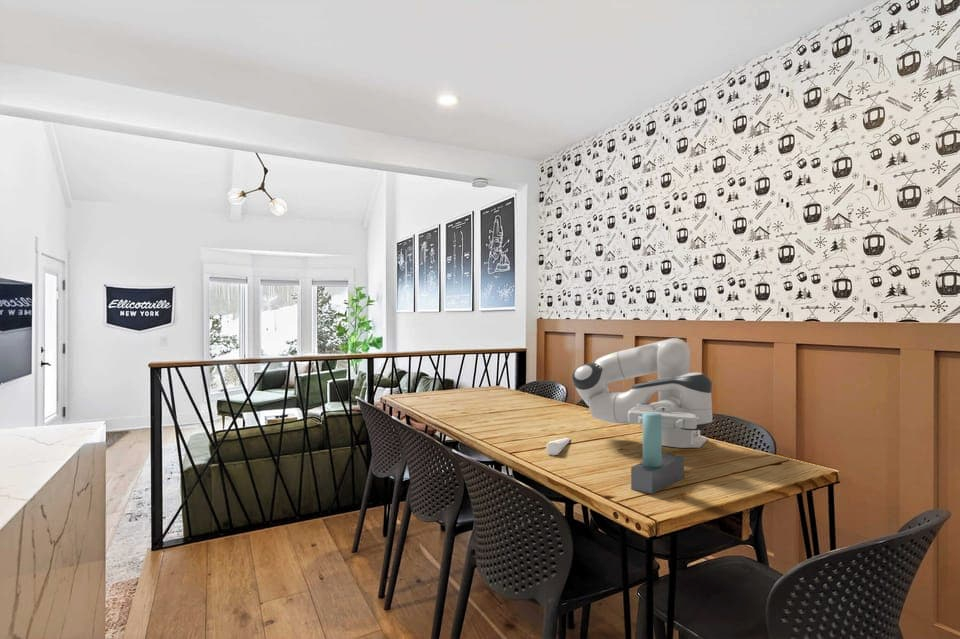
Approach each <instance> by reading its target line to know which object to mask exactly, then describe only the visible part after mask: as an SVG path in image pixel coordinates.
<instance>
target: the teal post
mask: <svg viewBox="0 0 960 639" xmlns="http://www.w3.org/2000/svg"><path fill="white" fill-rule="evenodd" d="M642 422H643V425H642V462H643V465H644V466H647V467H653V468H658V467H661V466H662V454H663V450H662V447H663V445H662V415H661V414H658V413H643V414H642Z"/></svg>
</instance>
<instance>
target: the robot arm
mask: <svg viewBox="0 0 960 639" xmlns="http://www.w3.org/2000/svg"><path fill="white" fill-rule="evenodd" d="M690 360H691V348H690V346H689V345H688V344H687V342H686V341H684V340H683V339H680V338H676V337H673V338H667V339H665V340H660V341H655V342H651V343H648V344H647V343H646V344H644V345H639V346H635V347H631V348H628V349H623V350H619V351H615V352H612V353H609V354H608V353H607V354H606V355H602V356H600V357H599V358H597V359H596V360H595V361H594V362H590V363H584V364H581V365H579V366H577V367H576V369H574V370H573V372H572V375H571V378H572V379H571V380H572V383H573V385H574V387H575V389H576V391H577V393H578V395H579V397H580V398H581V399H582V400H583V401H584V403H585V405H586V406H587V407H588V408H589V412H590V415H591V416H592V417H593V418H594V419H596V420H599V421H602V422H605V423H606V422H607V423H612V424H622V425H623V424H625V425H626V424H628V425H629V424H637V425H642V426H643V422H642V414H643V413H658V414H661V415H662V447H663V446H664V447H669V448H670V447H671V448H679V449H680V448H681V449H682V448H684V449H685V448H686V449H687V448H694V449H695V448H696V449H699V448H701V447H702V446H703V445H704V444H705V443H706V441H707V440H708V438H707V437H706V436H704V435H701V431H702V430H705V429H706V428H708V427H709V426H710V425H711V424H712V423H713V409H712V408H713V402H712V401H713V400H712V391H713V390H712V389H713V381H712V380H711V379H710V378H709V377H708V376H707V375H706V374H705V373H703V372H697V371H696V372H690V370H691V368H690V367H691V366H690V365H691V363H690V362H691V361H690ZM653 373H657V379H653V380H649V381H643V382H642V381H641V382H638V383H635V384H633V385H632V386H631V387H630V389H629V390H627V391H623V392H611V391H610V389H609V386H608V385H610V384H611V383H612V382H615V381H617V382H618V381H623V380H628V379H633V378H637V377H642V376H646V375H651V374H653ZM656 392H657V398H658V399H657V400H658V401H655V402H650V403H649V400H650V398H651V397H652V395H653V394H654V393H656Z"/></svg>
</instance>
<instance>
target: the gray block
mask: <svg viewBox="0 0 960 639" xmlns="http://www.w3.org/2000/svg"><path fill="white" fill-rule="evenodd" d="M630 470H631V471H630V487H631V490H633V489H634V491H637V490H638V492H641V493H644V492H645V493H646V494H648V495H654V494H656V493H658V492H659V491H661V490H663V489H665V488H667V487H669V486H670V485H672V484H674V483H677V482H678V481H680V480H682V479H685V456H681V455H677V454H672V453H666V452H662V466H661V467H658V468H653V467H647V466H644V465H643V461H642V462H640V463H638V464H636V465H633V466H631V467H630ZM645 493H644V494H645Z"/></svg>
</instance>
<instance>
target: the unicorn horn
mask: <svg viewBox="0 0 960 639" xmlns="http://www.w3.org/2000/svg"><path fill="white" fill-rule="evenodd" d="M570 440H571V438H569V437H567V438H565V437H564V438H560V439H556V440H551V441H549V442H548V443H546V452H547V454H548V455H550V456H554V455H556V456H558V455H559V454H560V453H561V451H562V450H563V449H564V448H565V447H566V446H567V445H568V444H569V442H570Z"/></svg>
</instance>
